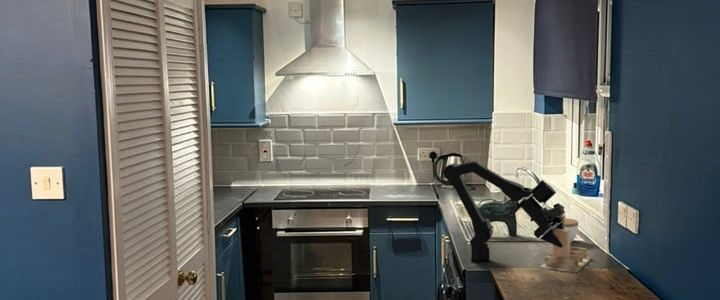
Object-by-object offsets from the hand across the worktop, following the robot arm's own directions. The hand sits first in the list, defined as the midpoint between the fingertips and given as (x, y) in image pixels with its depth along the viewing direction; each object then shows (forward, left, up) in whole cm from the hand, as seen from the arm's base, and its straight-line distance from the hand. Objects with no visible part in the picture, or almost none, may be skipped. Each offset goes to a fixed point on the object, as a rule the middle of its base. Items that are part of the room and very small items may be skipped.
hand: (565, 244), depth 229 cm
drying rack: (+1, +6, -9) cm, 11 cm away
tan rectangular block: (-1, +1, -8) cm, 8 cm away
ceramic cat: (-20, +52, -9) cm, 56 cm away
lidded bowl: (+6, +40, -9) cm, 41 cm away
